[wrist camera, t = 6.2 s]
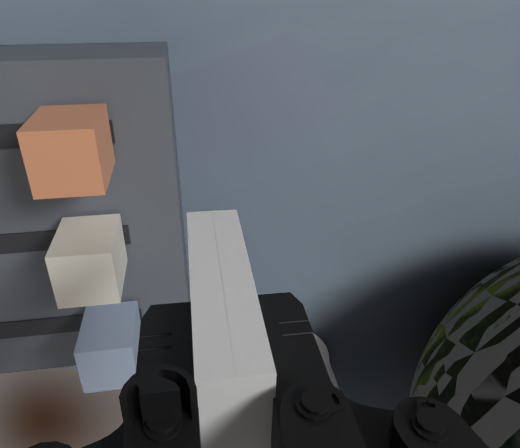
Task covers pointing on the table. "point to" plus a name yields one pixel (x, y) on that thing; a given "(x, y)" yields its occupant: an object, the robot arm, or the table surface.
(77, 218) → the slider ivory
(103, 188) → the slider terracotta
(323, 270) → the table surface
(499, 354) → the decorative globe
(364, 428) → the robot arm
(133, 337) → the block
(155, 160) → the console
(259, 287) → the table surface
